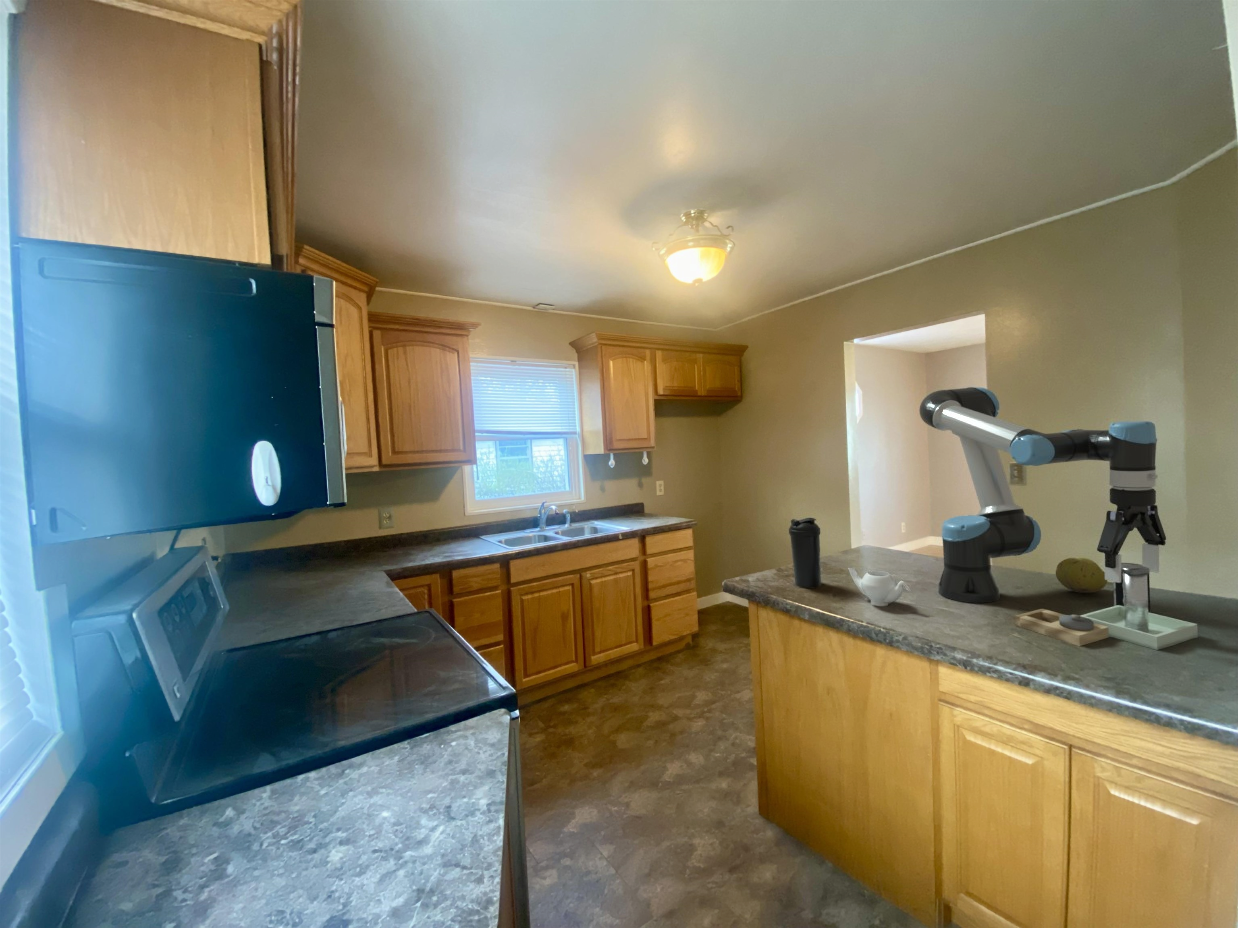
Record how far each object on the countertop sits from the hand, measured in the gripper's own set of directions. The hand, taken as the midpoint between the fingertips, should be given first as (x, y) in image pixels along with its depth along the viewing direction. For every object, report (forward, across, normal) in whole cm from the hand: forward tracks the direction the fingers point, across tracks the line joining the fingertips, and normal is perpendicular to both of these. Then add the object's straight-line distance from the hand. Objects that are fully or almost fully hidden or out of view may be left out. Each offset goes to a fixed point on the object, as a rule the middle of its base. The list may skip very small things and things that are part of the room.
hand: (1132, 576), depth 118 cm
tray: (+13, 0, -1) cm, 13 cm away
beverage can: (+14, +14, +7) cm, 21 cm away
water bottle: (+15, -39, +68) cm, 80 cm away
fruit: (+14, +19, +21) cm, 32 cm away
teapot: (+15, -34, +42) cm, 56 cm away
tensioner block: (+13, -13, +7) cm, 20 cm away
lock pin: (+13, 0, -1) cm, 13 cm away
